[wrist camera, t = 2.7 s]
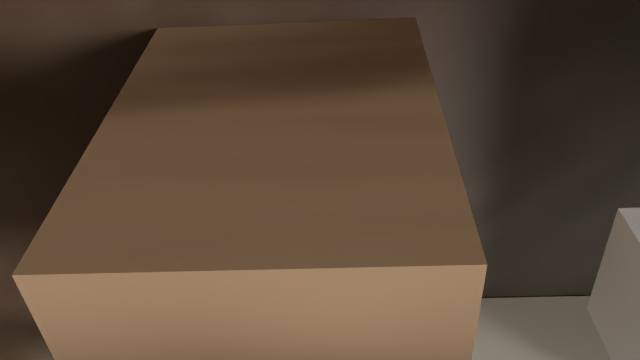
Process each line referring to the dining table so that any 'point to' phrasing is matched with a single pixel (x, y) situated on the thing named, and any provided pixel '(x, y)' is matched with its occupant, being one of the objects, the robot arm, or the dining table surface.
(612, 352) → the robot arm
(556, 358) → the cream u-shaped frame
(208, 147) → the block
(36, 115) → the dining table surface
